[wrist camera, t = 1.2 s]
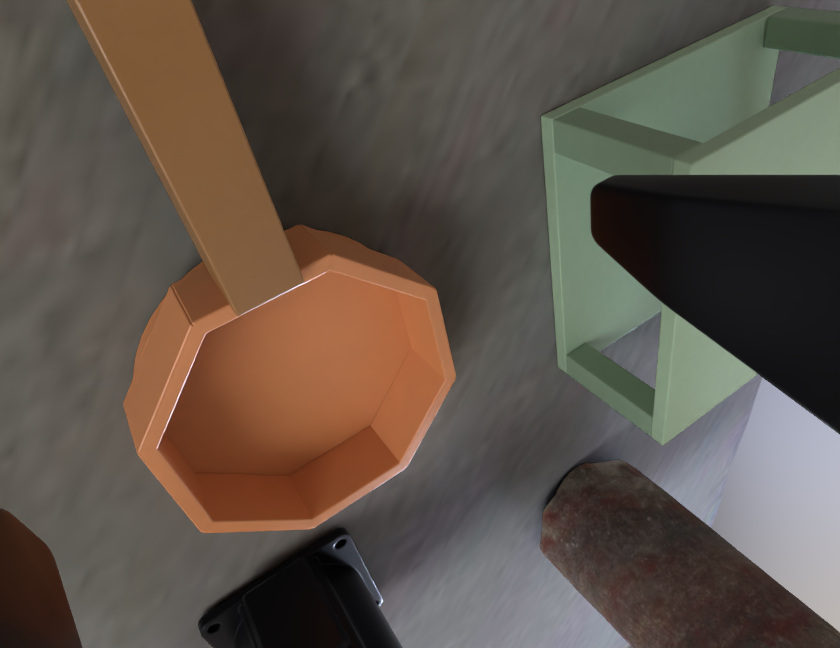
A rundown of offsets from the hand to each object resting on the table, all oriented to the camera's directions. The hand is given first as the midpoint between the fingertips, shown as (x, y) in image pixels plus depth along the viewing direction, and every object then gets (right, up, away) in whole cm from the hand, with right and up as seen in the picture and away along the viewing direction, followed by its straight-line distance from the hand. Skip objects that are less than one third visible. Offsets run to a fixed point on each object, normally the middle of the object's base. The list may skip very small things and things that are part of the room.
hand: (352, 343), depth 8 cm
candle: (+10, -10, +27) cm, 31 cm away
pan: (-4, +2, +9) cm, 10 cm away
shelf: (+11, +6, +17) cm, 21 cm away
